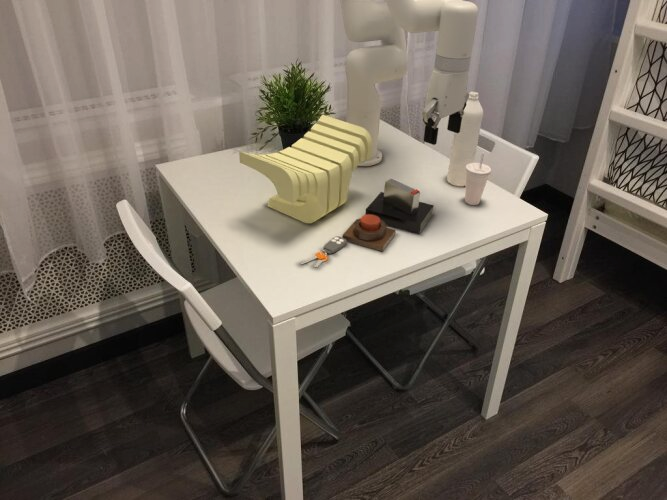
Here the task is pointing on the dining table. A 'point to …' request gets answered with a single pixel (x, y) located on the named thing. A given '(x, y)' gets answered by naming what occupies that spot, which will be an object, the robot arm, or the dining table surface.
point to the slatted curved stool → (314, 168)
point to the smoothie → (476, 181)
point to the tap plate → (400, 215)
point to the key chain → (328, 249)
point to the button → (370, 222)
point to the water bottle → (465, 141)
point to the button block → (369, 236)
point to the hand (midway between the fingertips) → (441, 137)
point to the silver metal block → (401, 196)
